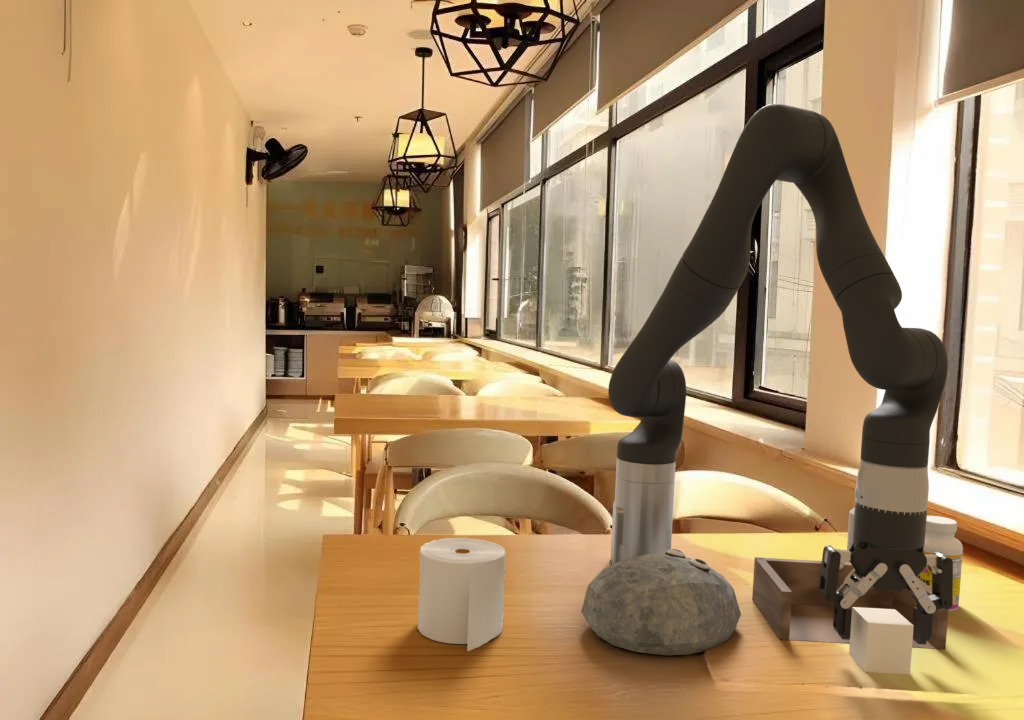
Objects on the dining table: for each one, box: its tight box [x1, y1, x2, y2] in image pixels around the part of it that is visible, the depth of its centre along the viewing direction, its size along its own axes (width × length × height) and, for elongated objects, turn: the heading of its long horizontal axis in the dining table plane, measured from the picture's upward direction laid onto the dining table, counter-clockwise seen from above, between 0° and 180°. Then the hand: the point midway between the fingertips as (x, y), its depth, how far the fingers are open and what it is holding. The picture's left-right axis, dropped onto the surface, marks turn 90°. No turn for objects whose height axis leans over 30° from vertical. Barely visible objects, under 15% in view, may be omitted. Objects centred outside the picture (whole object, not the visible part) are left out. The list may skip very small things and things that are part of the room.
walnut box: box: [751, 556, 949, 650], centre depth 107 cm, size 20×14×7 cm
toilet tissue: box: [417, 537, 506, 652], centre depth 102 cm, size 11×12×10 cm
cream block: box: [848, 607, 914, 675], centre depth 95 cm, size 5×5×6 cm
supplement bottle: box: [917, 515, 964, 612], centre depth 116 cm, size 7×7×13 cm
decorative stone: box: [580, 548, 742, 656], centre depth 103 cm, size 18×21×10 cm
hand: (881, 639), depth 95 cm, fingers open, 8 cm apart
